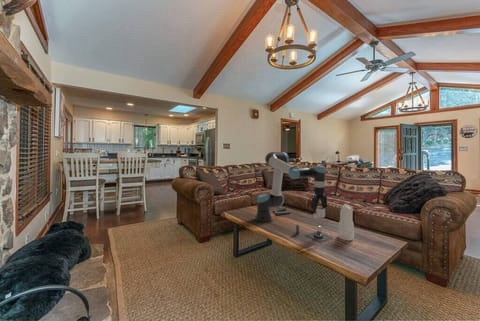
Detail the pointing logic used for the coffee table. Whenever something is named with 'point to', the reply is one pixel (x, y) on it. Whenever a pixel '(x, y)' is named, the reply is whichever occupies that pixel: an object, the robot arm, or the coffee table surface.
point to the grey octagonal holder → (320, 211)
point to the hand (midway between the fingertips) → (319, 216)
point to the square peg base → (319, 235)
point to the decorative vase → (346, 223)
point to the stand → (297, 231)
